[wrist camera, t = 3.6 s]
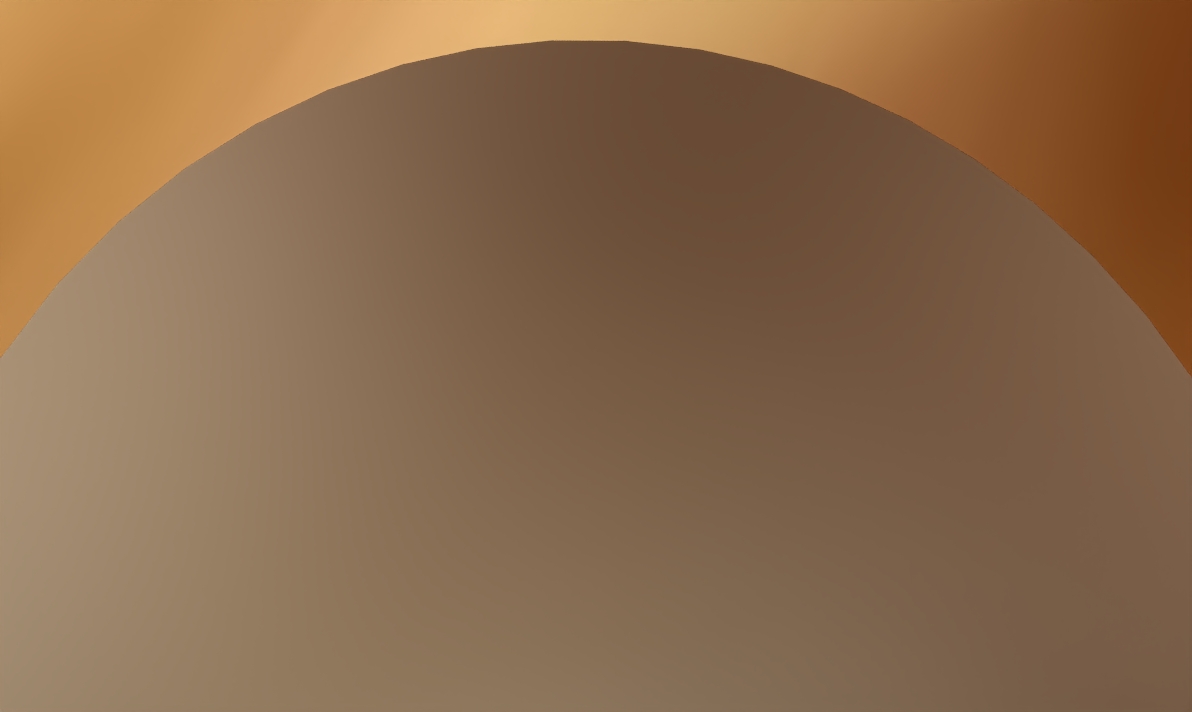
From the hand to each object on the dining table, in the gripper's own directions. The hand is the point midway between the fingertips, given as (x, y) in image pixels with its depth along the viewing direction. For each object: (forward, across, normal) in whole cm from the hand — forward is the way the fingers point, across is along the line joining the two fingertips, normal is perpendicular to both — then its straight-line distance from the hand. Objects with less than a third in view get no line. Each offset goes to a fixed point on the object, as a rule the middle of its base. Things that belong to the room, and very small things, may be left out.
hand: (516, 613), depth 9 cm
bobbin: (+5, 0, +6) cm, 7 cm away
